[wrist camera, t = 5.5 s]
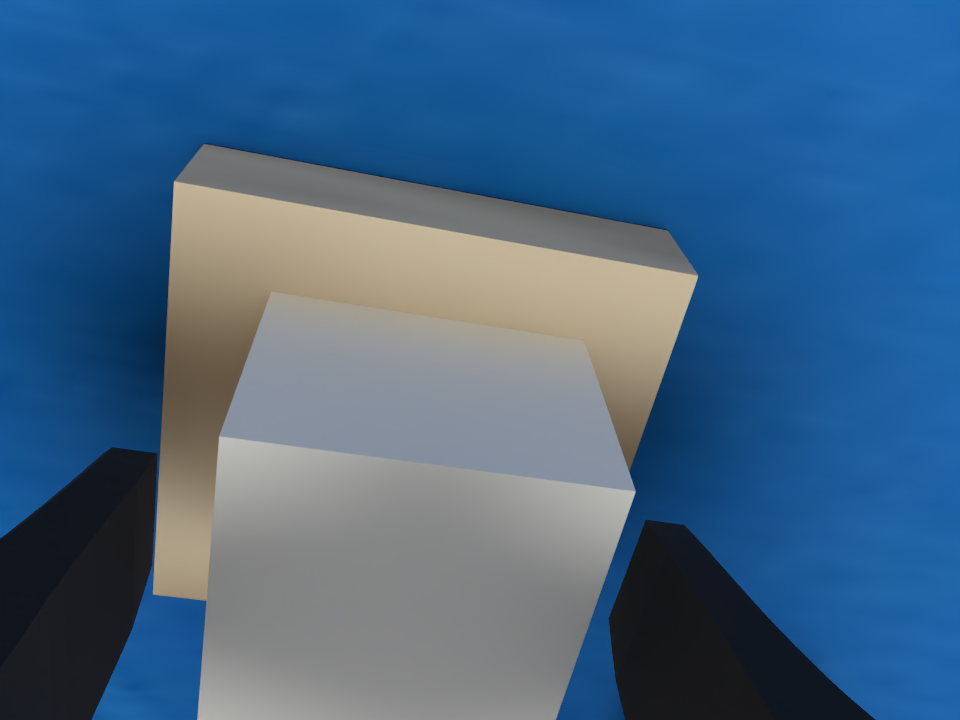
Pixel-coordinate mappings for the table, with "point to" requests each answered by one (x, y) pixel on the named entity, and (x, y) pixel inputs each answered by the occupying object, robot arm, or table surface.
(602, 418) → the cream cube
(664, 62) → the table surface
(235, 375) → the oak slab
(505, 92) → the table surface
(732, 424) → the table surface
